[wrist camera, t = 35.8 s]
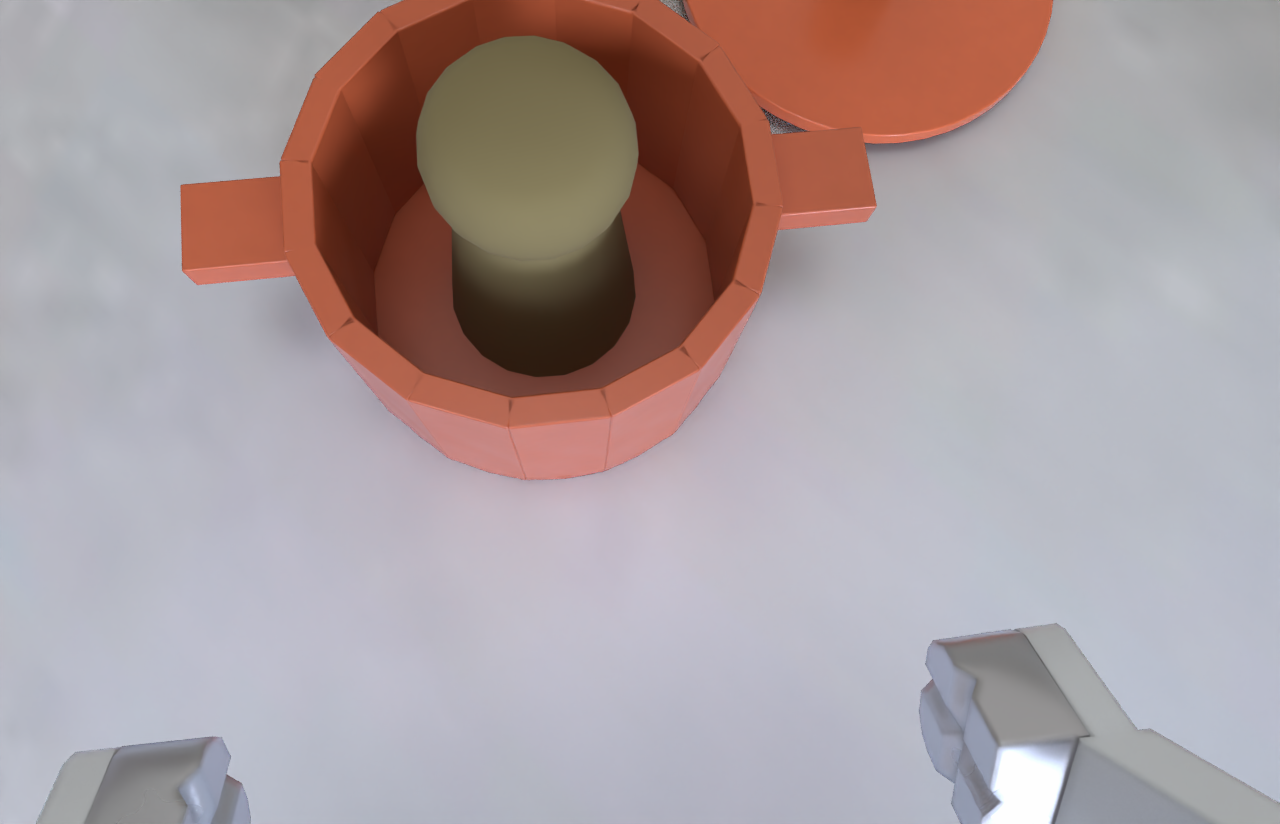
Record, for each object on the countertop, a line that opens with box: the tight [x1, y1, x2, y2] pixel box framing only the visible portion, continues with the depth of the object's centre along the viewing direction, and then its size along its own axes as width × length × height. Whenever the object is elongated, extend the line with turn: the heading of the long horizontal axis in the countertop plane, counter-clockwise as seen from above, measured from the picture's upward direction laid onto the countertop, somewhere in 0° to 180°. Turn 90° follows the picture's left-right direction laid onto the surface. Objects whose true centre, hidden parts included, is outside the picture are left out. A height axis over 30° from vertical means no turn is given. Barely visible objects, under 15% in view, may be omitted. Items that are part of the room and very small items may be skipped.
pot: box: [181, 0, 877, 480], centre depth 29 cm, size 13×18×8 cm
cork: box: [416, 36, 639, 377], centre depth 27 cm, size 6×6×11 cm
